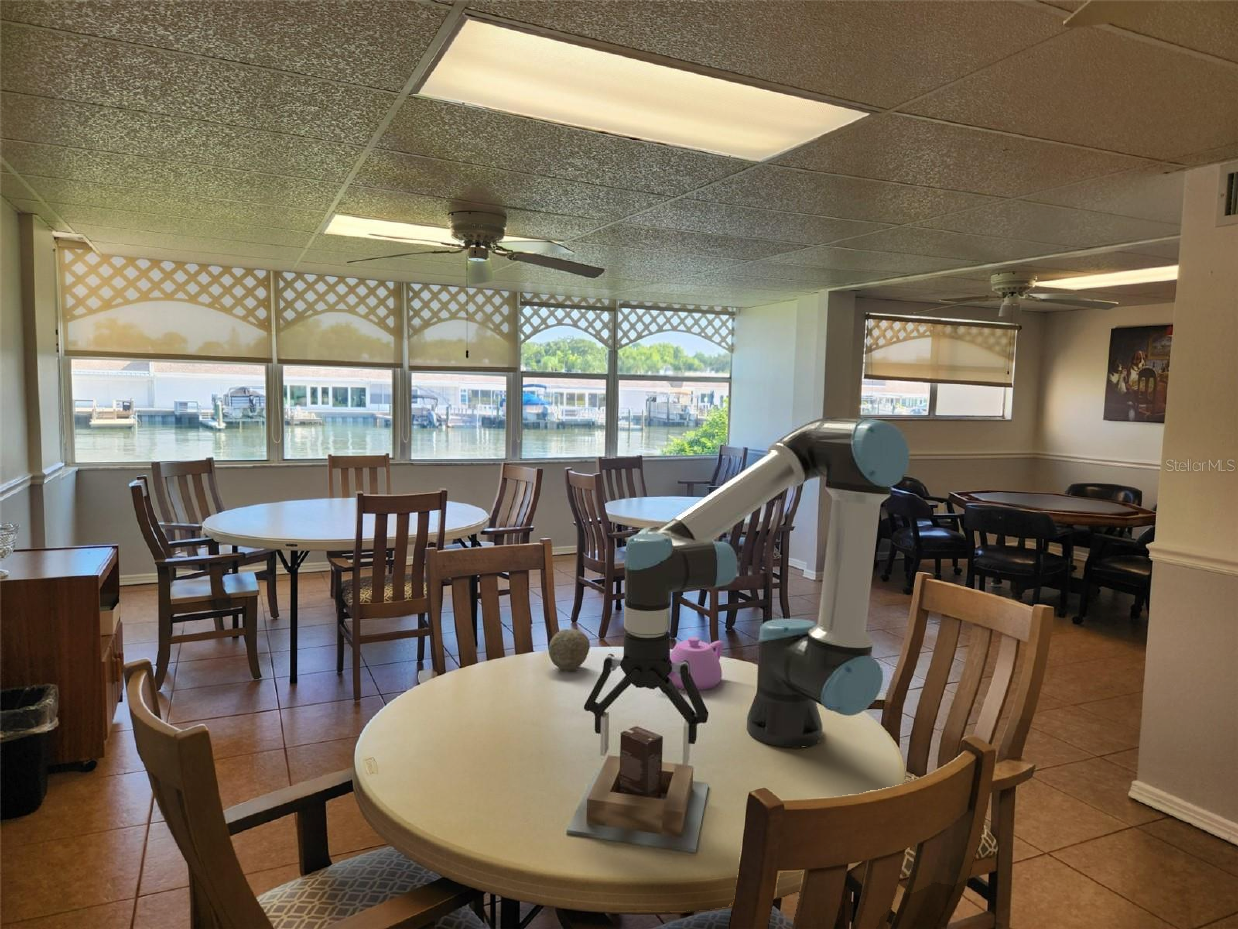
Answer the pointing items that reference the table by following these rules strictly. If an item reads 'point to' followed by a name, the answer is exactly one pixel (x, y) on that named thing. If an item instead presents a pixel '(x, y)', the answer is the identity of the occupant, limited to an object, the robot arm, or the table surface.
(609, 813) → the socket
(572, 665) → the decorative stone
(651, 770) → the box
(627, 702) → the table surface
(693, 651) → the teapot
